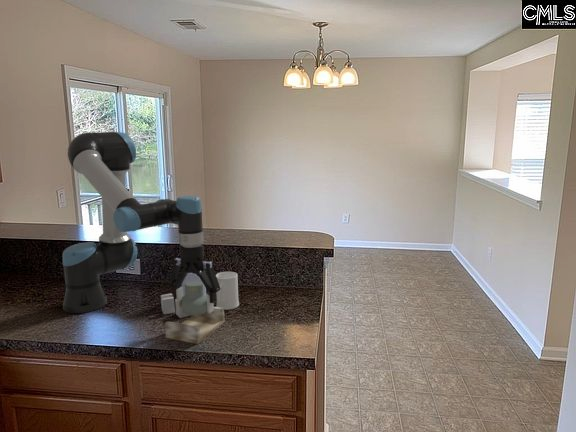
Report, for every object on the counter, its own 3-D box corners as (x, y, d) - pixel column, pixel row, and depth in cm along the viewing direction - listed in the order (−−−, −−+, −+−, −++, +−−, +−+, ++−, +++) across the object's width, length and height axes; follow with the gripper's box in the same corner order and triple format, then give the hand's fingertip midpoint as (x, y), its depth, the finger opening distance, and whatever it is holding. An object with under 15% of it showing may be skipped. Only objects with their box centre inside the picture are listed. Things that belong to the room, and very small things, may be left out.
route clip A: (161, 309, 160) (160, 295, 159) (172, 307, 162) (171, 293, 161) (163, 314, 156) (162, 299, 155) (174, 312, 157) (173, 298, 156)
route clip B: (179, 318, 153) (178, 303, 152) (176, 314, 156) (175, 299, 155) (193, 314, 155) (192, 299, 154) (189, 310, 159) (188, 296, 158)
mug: (228, 314, 155) (226, 283, 153) (207, 311, 158) (205, 280, 156) (243, 302, 166) (242, 272, 163) (223, 299, 169) (222, 270, 166)
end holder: (165, 337, 139) (164, 323, 138) (195, 316, 154) (194, 303, 153) (197, 344, 134) (196, 329, 133) (225, 321, 150) (224, 307, 149)
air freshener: (183, 307, 147) (181, 279, 145) (207, 304, 149) (206, 276, 147) (182, 320, 137) (180, 290, 135) (209, 317, 138) (207, 288, 137)
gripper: (154, 244, 139) (159, 308, 143) (217, 250, 131) (220, 318, 135) (168, 239, 146) (172, 300, 150) (229, 244, 137) (232, 309, 142)
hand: (195, 309), depth 143 cm, fingers closed on air freshener, 11 cm apart
